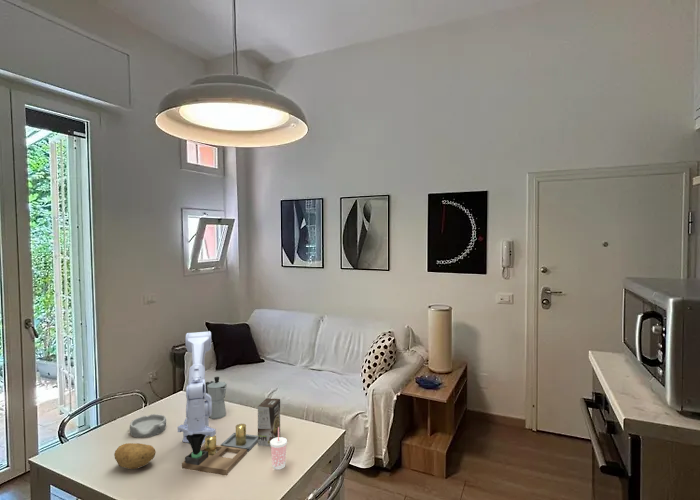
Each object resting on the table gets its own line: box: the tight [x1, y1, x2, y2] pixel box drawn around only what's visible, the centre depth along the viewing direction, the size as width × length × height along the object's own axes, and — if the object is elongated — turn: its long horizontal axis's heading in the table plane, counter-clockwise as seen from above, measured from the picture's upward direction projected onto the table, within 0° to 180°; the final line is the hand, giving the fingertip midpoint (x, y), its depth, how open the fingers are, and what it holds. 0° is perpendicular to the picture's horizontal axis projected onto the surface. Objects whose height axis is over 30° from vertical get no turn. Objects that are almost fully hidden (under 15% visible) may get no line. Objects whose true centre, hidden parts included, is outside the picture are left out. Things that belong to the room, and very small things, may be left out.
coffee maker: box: [205, 376, 228, 420], centre depth 184 cm, size 15×9×18 cm, turn 59°
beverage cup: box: [270, 427, 288, 470], centre depth 141 cm, size 6×6×14 cm
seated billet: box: [204, 434, 217, 456], centre depth 148 cm, size 4×4×7 cm
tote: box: [220, 432, 258, 453], centre depth 156 cm, size 12×10×2 cm
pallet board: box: [181, 443, 248, 477], centre depth 144 cm, size 18×14×4 cm
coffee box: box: [257, 397, 281, 448], centre depth 158 cm, size 9×6×16 cm
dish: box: [129, 413, 167, 439], centre depth 168 cm, size 14×14×5 cm
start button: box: [191, 451, 202, 458], centre depth 141 cm, size 4×4×2 cm
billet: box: [235, 423, 247, 446], centre depth 156 cm, size 4×4×7 cm
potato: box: [113, 442, 157, 470], centre depth 141 cm, size 10×14×8 cm
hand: (196, 453), depth 141 cm, fingers closed, pressing on start button
